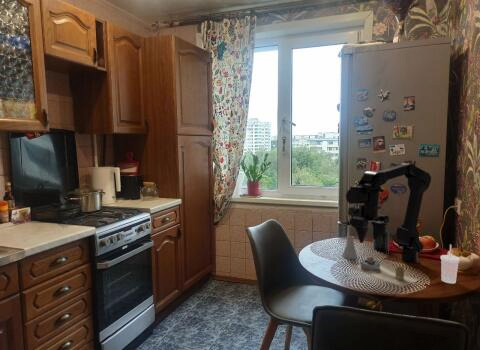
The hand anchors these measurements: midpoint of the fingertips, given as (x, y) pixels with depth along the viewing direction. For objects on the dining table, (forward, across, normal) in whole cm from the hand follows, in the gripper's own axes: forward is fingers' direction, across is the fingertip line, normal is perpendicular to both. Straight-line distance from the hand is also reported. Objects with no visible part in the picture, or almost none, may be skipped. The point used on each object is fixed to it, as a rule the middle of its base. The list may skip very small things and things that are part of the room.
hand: (368, 241), depth 135 cm
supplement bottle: (+11, -28, -11) cm, 32 cm away
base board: (+12, -1, +7) cm, 14 cm away
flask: (+12, -6, -12) cm, 18 cm away
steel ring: (+11, -1, +1) cm, 11 cm away
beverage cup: (+11, -16, +24) cm, 31 cm away
